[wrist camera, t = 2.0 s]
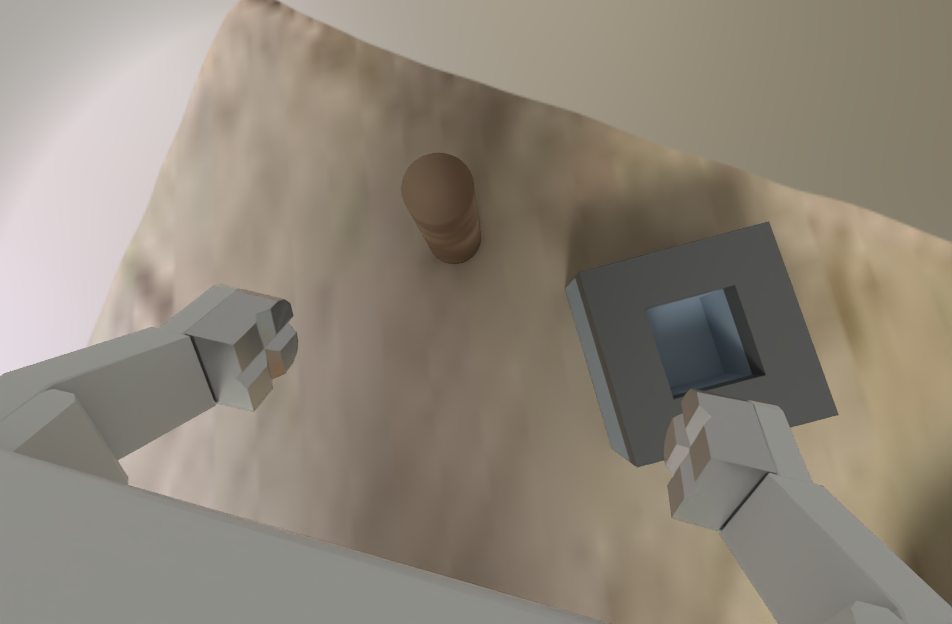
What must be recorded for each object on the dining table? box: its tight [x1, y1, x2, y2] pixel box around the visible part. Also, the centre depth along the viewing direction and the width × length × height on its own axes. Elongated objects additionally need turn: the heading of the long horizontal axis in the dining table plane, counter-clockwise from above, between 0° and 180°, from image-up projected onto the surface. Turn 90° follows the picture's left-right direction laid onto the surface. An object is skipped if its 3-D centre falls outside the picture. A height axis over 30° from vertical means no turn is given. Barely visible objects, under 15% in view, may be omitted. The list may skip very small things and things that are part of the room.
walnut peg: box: [402, 153, 481, 264], centre depth 30 cm, size 4×4×10 cm
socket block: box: [565, 222, 838, 467], centre depth 31 cm, size 12×12×6 cm
